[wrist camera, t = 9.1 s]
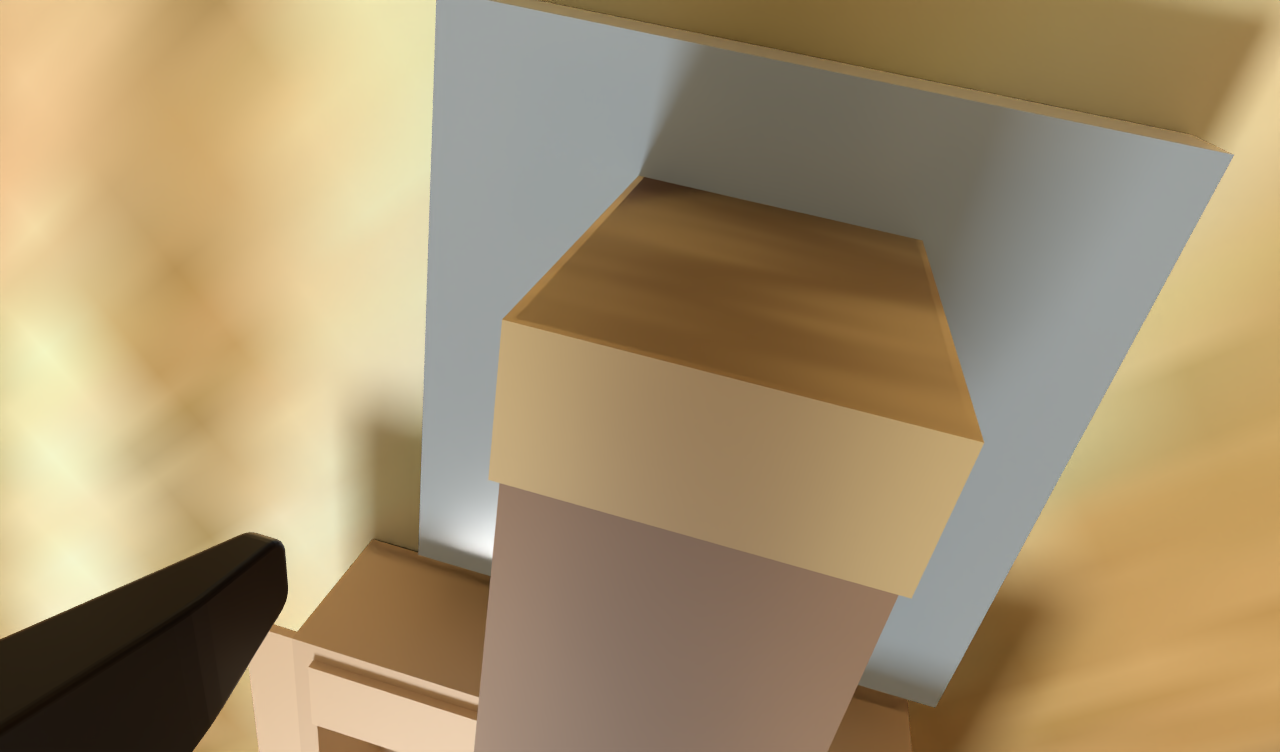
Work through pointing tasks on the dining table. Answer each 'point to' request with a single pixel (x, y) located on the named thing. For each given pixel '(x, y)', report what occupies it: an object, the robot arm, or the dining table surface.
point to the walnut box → (712, 476)
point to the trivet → (816, 185)
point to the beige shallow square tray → (425, 667)
